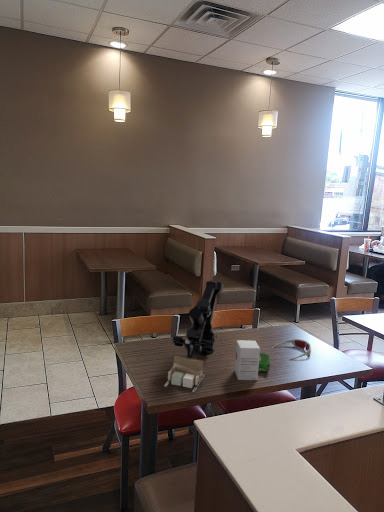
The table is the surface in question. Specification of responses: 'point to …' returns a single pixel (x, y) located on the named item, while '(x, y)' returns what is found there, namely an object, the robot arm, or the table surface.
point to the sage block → (177, 378)
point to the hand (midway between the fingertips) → (188, 361)
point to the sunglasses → (299, 344)
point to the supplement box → (247, 360)
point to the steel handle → (192, 390)
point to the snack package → (264, 362)
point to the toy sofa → (187, 367)
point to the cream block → (188, 380)
